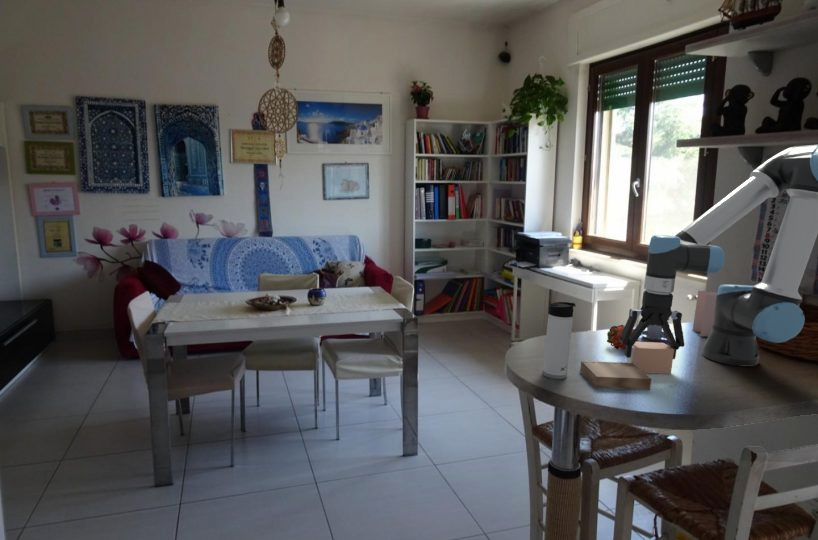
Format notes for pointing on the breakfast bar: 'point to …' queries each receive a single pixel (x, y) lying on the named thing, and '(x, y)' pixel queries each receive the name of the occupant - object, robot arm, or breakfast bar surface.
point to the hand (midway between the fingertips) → (648, 369)
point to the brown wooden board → (615, 375)
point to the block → (653, 357)
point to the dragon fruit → (616, 336)
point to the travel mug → (558, 340)
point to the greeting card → (704, 312)
